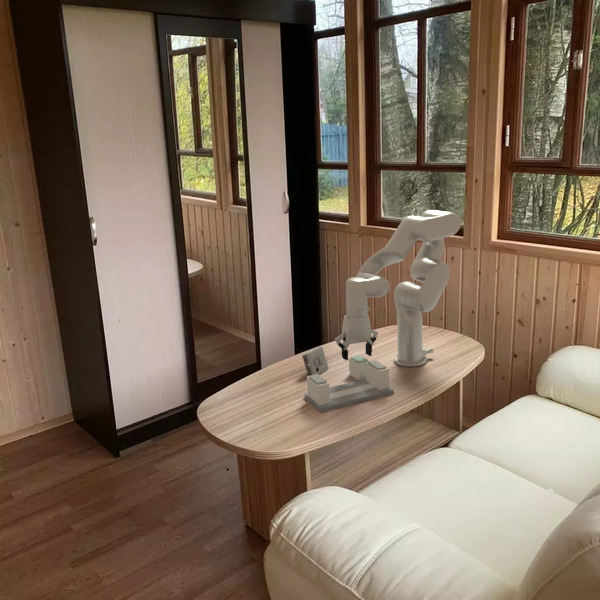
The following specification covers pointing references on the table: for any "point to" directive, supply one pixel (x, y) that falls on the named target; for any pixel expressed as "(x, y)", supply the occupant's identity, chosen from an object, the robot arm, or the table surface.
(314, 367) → the electrical switch
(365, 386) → the rail board
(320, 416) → the table surface
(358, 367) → the block
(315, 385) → the mounted modules
